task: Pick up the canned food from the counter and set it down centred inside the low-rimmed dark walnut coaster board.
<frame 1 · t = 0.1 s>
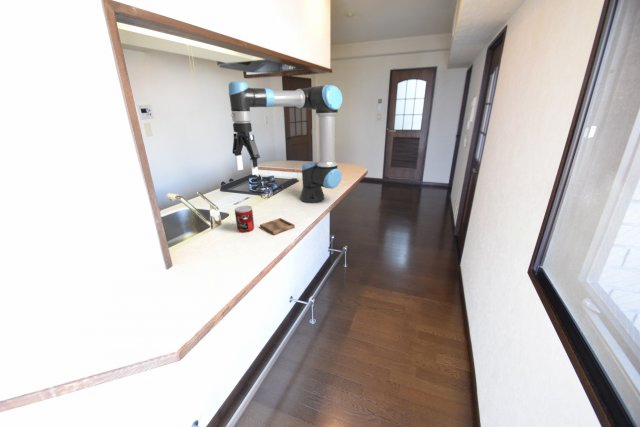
hand: (247, 172, 123), 28 cm above the worktop, fingers open, 13 cm apart
coaster board: (277, 227, 133), on the worktop
canned food: (246, 229, 132), on the worktop
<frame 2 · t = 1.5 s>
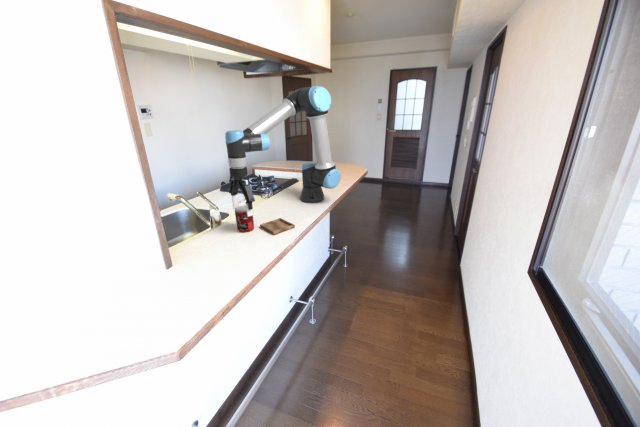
hand: (243, 212, 128), 9 cm above the worktop, fingers open, 13 cm apart
nothing on the worktop moved.
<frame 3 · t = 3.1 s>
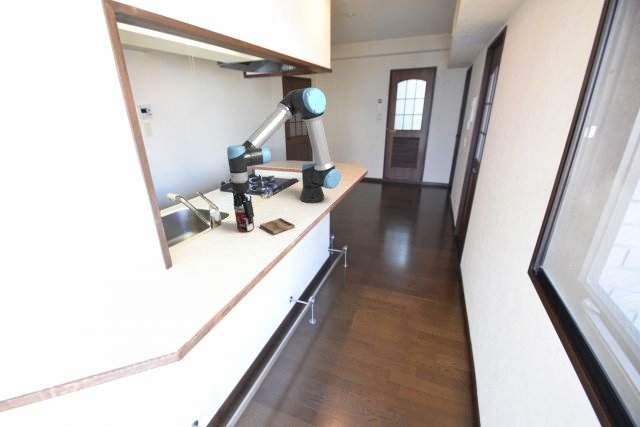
hand: (245, 227, 131), 1 cm above the worktop, fingers closed on canned food, 8 cm apart
canned food: (246, 229, 132), on the worktop, touching gripper
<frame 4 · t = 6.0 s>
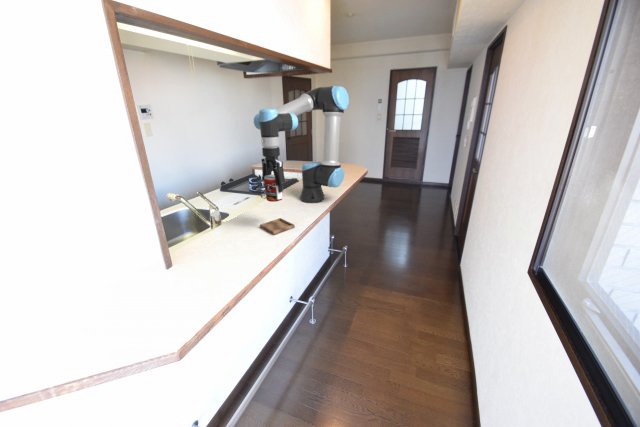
hand: (274, 196, 127), 16 cm above the worktop, fingers closed on canned food, 8 cm apart
canned food: (274, 199, 127), point 14 cm above the worktop, touching gripper
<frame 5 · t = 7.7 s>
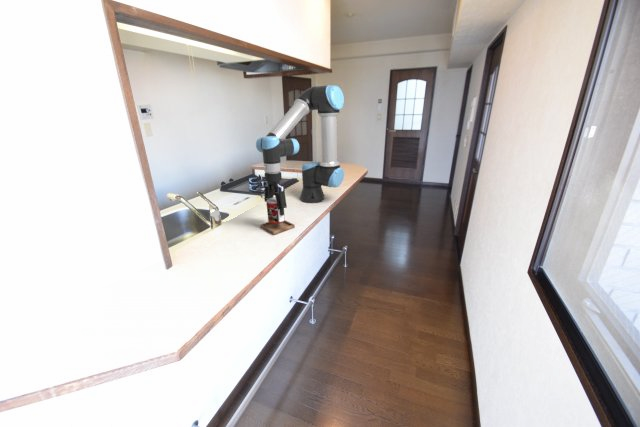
hand: (276, 218, 131), 5 cm above the worktop, fingers closed on canned food, 8 cm apart
canned food: (276, 221, 131), point 3 cm above the worktop, touching gripper
when the fingers open (3 cm above the worktop, at t = 9.0 s): canned food drops 1 cm, resting on coaster board.
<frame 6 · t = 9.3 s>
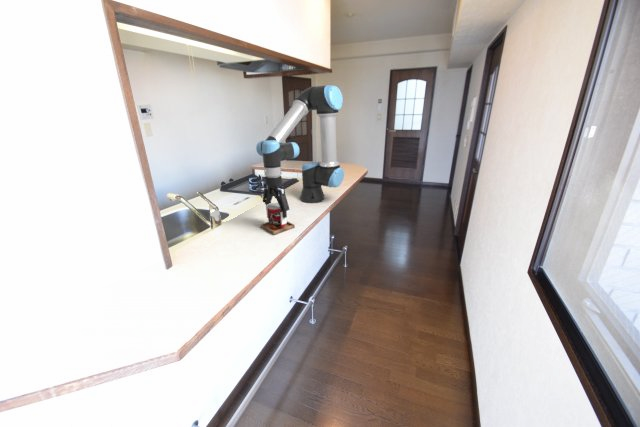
hand: (276, 220, 131), 4 cm above the worktop, fingers open, 11 cm apart
canned food: (277, 226, 133), resting on coaster board
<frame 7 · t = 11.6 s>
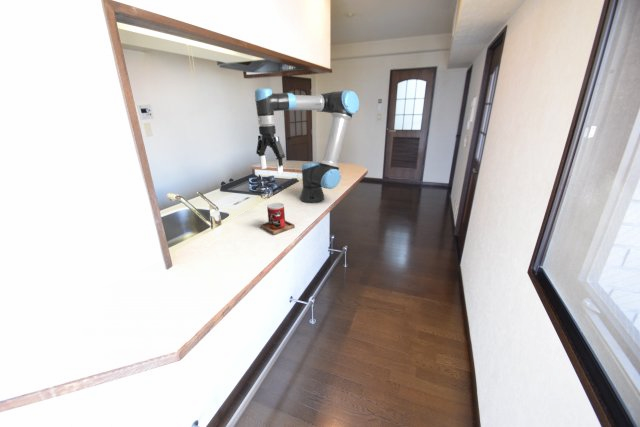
hand: (271, 170, 134), 26 cm above the worktop, fingers open, 13 cm apart
nothing on the worktop moved.
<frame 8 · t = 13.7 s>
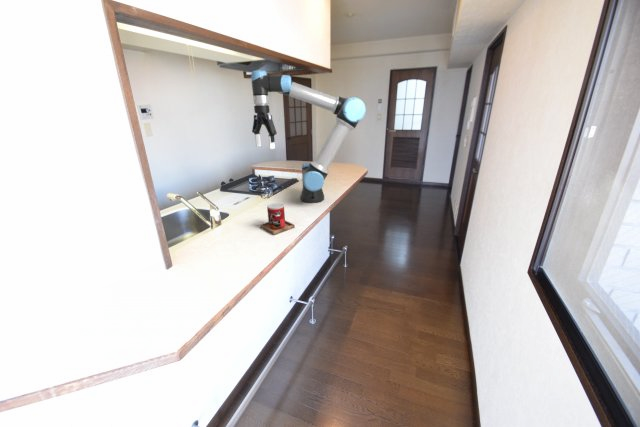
hand: (265, 147, 146), 35 cm above the worktop, fingers open, 13 cm apart
nothing on the worktop moved.
at the end: canned food 0.0 cm off-centre on the coaster board, point 0.4 cm above the coaster board's base; canned food tilted 0°; the gripper is holding nothing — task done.
